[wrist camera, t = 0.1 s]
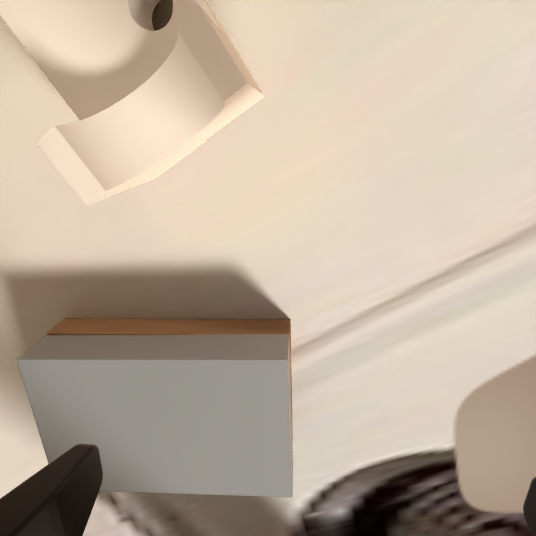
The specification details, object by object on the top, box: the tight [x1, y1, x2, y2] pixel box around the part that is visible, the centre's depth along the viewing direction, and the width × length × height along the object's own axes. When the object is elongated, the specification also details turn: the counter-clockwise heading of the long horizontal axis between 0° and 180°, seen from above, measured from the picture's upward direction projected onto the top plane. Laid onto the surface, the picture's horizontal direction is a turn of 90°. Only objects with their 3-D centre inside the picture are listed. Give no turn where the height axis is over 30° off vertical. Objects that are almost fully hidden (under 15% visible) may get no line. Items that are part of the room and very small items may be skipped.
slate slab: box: [17, 334, 293, 497], centre depth 22 cm, size 9×14×2 cm, turn 93°
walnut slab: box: [47, 318, 293, 443], centre depth 25 cm, size 9×14×2 cm, turn 92°
